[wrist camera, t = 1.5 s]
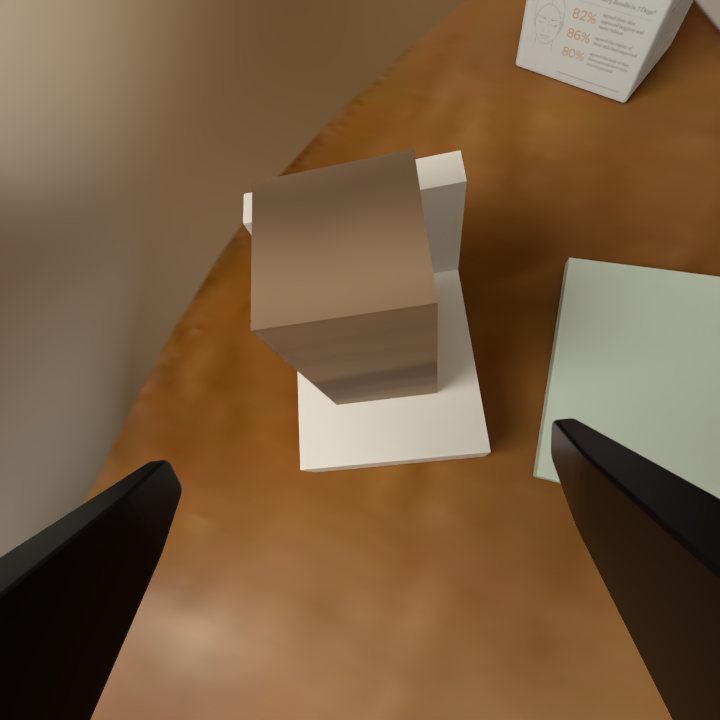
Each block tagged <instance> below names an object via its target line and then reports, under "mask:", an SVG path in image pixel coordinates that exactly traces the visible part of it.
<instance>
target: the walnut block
mask: <svg viewBox="0 0 720 720" xmlns="http://www.w3.org/2000/svg"><path fill="white" fill-rule="evenodd" d="M251 331H252V332H253V333H254V334H255V335H256V336H257V337H259V338H260V339H261V340H262V341H263V342H264V343H266V344H267V345H268V346H269V347H270V348H271V349H273V350H274V351H275V352H276V353H277V354H278V355H279V356H281V357H282V358H283V359H284V360H285V361H286V362H288V363H289V364H290V365H291V366H292V367H293V368H295V369H296V370H297V371H298V372H299V373H300V374H302V375H303V376H304V377H305V378H306V379H307V380H308V381H310V382H311V383H312V384H313V385H314V386H315V387H317V388H318V389H319V390H320V391H321V392H322V393H324V394H325V395H326V396H327V397H328V398H329V399H331V400H332V401H333V402H334V403H335V404H336V405H340V404H349V403H357V402H366V401H374V400H383V399H391V398H400V397H408V396H417V395H425V394H434V393H437V342H438V301H437V294H436V288H435V282H434V275H433V269H432V262H431V256H430V250H429V243H428V237H427V230H426V224H425V218H424V211H423V205H422V198H421V192H420V186H419V179H418V173H417V166H416V160H415V154H414V149H411V150H406V151H401V152H396V153H392V154H387V155H382V156H377V157H372V158H367V159H362V160H358V161H353V162H348V163H343V164H338V165H333V166H328V167H324V168H319V169H314V170H309V171H304V172H299V173H294V174H290V175H285V176H280V177H276V178H270V179H265V180H261V181H256V182H253V183H252V256H251Z"/></svg>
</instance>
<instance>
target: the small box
mask: <svg viewBox="0 0 720 720" xmlns="http://www.w3.org/2000/svg"><path fill="white" fill-rule="evenodd" d="M692 2H693V0H527V1H526V7H525V12H524V19H523V25H522V30H521V36H520V42H519V48H518V54H517V59H516V65H517V66H519V67H522V68H525V69H528V70H531V71H533V72H536V73H539V74H542V75H545V76H547V77H550V78H553V79H556V80H559V81H562V82H565V83H567V84H570V85H573V86H576V87H579V88H582V89H584V90H587V91H590V92H593V93H596V94H599V95H602V96H604V97H607V98H610V99H613V100H616V101H619V102H622V103H625V102H626V101H627V100H628V98H629V97H630V96H631V95H632V93H633V92H634V91H635V90H636V88H637V87H638V86H639V84H640V83H641V82H642V81H643V79H644V78H645V77H646V76H647V74H648V73H649V72H650V71H651V69H652V68H653V67H654V66H655V64H656V63H657V62H658V60H659V59H660V58H661V57H662V55H663V54H664V53H665V51H666V50H667V49H668V48H669V47H670V45H671V43H672V42H673V40H674V38H675V36H676V34H677V32H678V30H679V28H680V26H681V24H682V22H683V20H684V18H685V16H686V14H687V12H688V10H689V8H690V6H691V4H692Z"/></svg>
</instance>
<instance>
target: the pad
mask: <svg viewBox="0 0 720 720" xmlns="http://www.w3.org/2000/svg"><path fill="white" fill-rule="evenodd" d="M568 418H573V419H576V420H578V421H580V422H582V423H584V424H585V425H587V426H589V427H591V428H593V429H594V430H596V431H598V432H600V433H602V434H603V435H605V436H607V437H609V438H611V439H613V440H614V441H616V442H618V443H620V444H622V445H623V446H625V447H627V448H629V449H631V450H632V451H634V452H636V453H638V454H640V455H642V456H643V457H645V458H647V459H649V460H651V461H652V462H654V463H656V464H658V465H660V466H661V467H663V468H665V469H667V470H669V471H670V472H672V473H674V474H676V475H678V476H680V477H681V478H683V479H685V480H687V481H689V482H690V483H692V484H694V485H696V486H698V487H699V488H701V489H703V490H705V491H707V492H709V493H710V494H712V495H714V496H716V497H718V498H719V499H720V277H718V276H710V275H702V274H694V273H686V272H679V271H671V270H663V269H655V268H647V267H640V266H632V265H624V264H616V263H608V262H600V261H593V260H585V259H577V258H569V259H568V261H567V262H566V264H565V268H564V275H563V281H562V288H561V294H560V301H559V308H558V314H557V321H556V327H555V334H554V340H553V347H552V353H551V360H550V367H549V373H548V380H547V386H546V393H545V399H544V406H543V412H542V419H541V426H540V432H539V439H538V445H537V452H536V458H535V465H534V471H533V477H537V478H541V479H545V480H549V481H552V482H556V483H560V480H559V477H558V474H557V472H556V469H555V466H554V463H553V460H552V456H551V431H552V423H553V421H555V420H559V419H568ZM560 484H561V483H560Z"/></svg>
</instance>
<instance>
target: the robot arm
mask: <svg viewBox="0 0 720 720" xmlns="http://www.w3.org/2000/svg"><path fill="white" fill-rule="evenodd" d="M551 456H552V460H553V463H554V466H555V469H556V472H557V474H558V477H559V480H560V483H561V485H562V488H563V491H564V494H565V497H566V499H567V502H568V505H569V508H570V510H571V513H572V516H573V518H574V521H575V524H576V526H577V528H578V530H579V533H580V535H581V537H582V539H583V541H584V543H585V545H586V547H587V549H588V551H589V553H590V555H591V557H592V559H593V561H594V563H595V565H596V567H597V569H598V571H599V573H600V575H601V577H602V579H603V581H604V583H605V585H606V587H607V589H608V591H609V593H610V595H611V597H612V599H613V601H614V603H615V605H616V607H617V609H618V611H619V613H620V615H621V617H622V619H623V621H624V623H625V625H626V627H627V629H628V631H629V633H630V635H631V637H632V639H633V641H634V643H635V645H636V647H637V649H638V651H639V653H640V655H641V657H642V659H643V661H644V663H645V665H646V667H647V669H648V671H649V673H650V675H651V677H652V679H653V681H654V683H655V685H656V687H657V689H658V691H659V693H660V695H661V697H662V699H663V701H664V703H665V705H666V707H667V709H668V711H669V713H670V715H671V717H672V719H673V720H720V499H719V498H718V497H716V496H714V495H712V494H710V493H709V492H707V491H705V490H703V489H701V488H699V487H698V486H696V485H694V484H692V483H690V482H689V481H687V480H685V479H683V478H681V477H680V476H678V475H676V474H674V473H672V472H670V471H669V470H667V469H665V468H663V467H661V466H660V465H658V464H656V463H654V462H652V461H651V460H649V459H647V458H645V457H643V456H642V455H640V454H638V453H636V452H634V451H632V450H631V449H629V448H627V447H625V446H623V445H622V444H620V443H618V442H616V441H614V440H613V439H611V438H609V437H607V436H605V435H603V434H602V433H600V432H598V431H596V430H594V429H593V428H591V427H589V426H587V425H585V424H584V423H582V422H580V421H578V420H576V419H573V418H568V419H559V420H555V421H553V423H552V431H551ZM180 496H181V484H180V482H179V480H178V478H177V476H176V474H175V472H174V470H173V468H172V466H171V464H170V463H169V462H168V461H166V460H159V461H151V462H149V463H147V464H145V465H144V466H142V467H141V468H139V469H137V470H136V471H134V472H133V473H131V474H130V475H128V476H127V477H125V478H123V479H122V480H120V481H119V482H117V483H116V484H114V485H113V486H111V487H109V488H108V489H106V490H105V491H103V492H102V493H100V494H99V495H97V496H95V497H94V498H92V499H91V500H89V501H88V502H86V503H84V504H83V505H81V506H80V507H78V508H77V509H75V510H74V511H72V512H71V513H69V514H67V515H66V516H64V517H63V518H61V519H60V520H58V521H57V522H55V523H53V524H52V525H50V526H49V527H47V528H46V529H44V530H42V531H41V532H40V533H38V534H36V535H35V536H33V537H32V538H30V539H29V540H27V541H25V542H24V543H22V544H21V545H19V546H18V547H16V548H14V549H13V550H11V551H10V552H9V553H7V554H5V555H4V556H2V557H1V558H0V720H90V719H91V717H92V715H93V712H94V710H95V708H96V705H97V703H98V701H99V699H100V696H101V694H102V692H103V689H104V687H105V685H106V682H107V680H108V678H109V675H110V673H111V671H112V668H113V666H114V664H115V661H116V659H117V657H118V654H119V652H120V650H121V647H122V645H123V643H124V641H125V638H126V636H127V634H128V631H129V629H130V627H131V624H132V622H133V620H134V617H135V615H136V613H137V610H138V608H139V606H140V603H141V601H142V599H143V596H144V594H145V592H146V589H147V587H148V585H149V582H150V580H151V578H152V576H153V573H154V571H155V569H156V566H157V564H158V561H159V559H160V557H161V554H162V551H163V548H164V546H165V543H166V540H167V536H168V533H169V530H170V527H171V524H172V521H173V518H174V515H175V512H176V509H177V506H178V502H179V499H180Z"/></svg>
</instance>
